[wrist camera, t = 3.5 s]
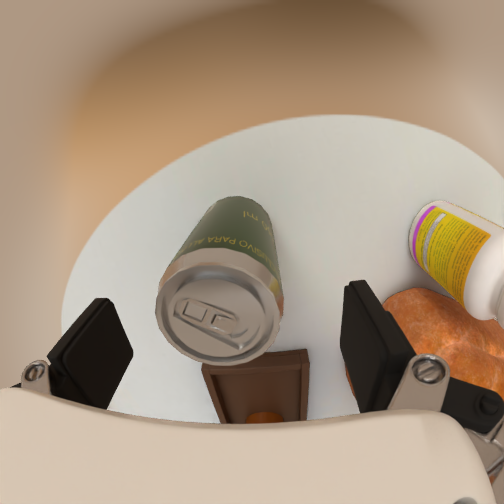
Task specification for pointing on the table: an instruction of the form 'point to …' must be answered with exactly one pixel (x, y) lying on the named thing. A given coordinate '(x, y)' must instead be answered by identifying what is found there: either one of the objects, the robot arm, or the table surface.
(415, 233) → the supplement bottle
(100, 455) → the robot arm
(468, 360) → the bread
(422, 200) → the table surface
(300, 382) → the tray
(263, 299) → the beer can
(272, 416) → the amber bottle
